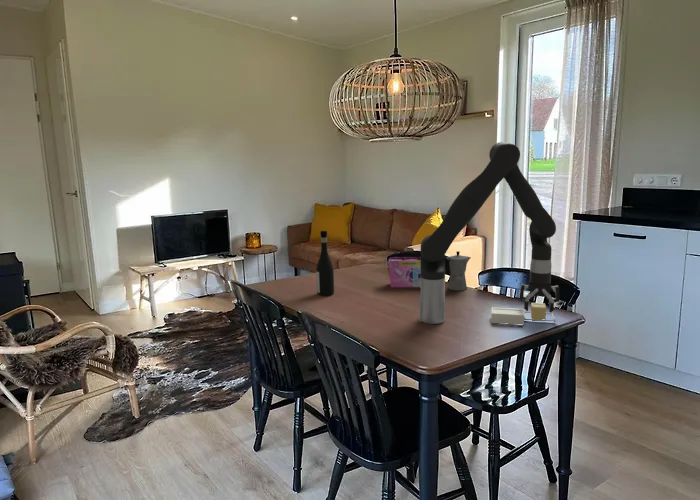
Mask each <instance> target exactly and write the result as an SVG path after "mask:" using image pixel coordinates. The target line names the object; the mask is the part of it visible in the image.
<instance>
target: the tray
mask: <svg viewBox="0 0 700 500" xmlns="http://www.w3.org/2000/svg"><path fill="white" fill-rule="evenodd" d="M525 313H531V310H528V311H526V310H523V314H524V320H532V321H554V322H555V323H556V319H555V317H554V313H553V312H552V313H550V312H547V311H546V314H551V315H552V318H553V320H542V319H526V318H525ZM524 320H523V321H524Z"/></svg>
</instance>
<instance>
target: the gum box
mask: <svg viewBox="0 0 700 500" xmlns="http://www.w3.org/2000/svg"><path fill="white" fill-rule="evenodd" d="M387 266H388V269H389V279H390V288H421V256H417V257H416V256H414V257H413V256H412V257H411V256H402V257H399V256H398V257H396V256H395V257H393V256H392V257H389V259H388V261H387Z"/></svg>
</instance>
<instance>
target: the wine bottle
mask: <svg viewBox="0 0 700 500" xmlns="http://www.w3.org/2000/svg"><path fill="white" fill-rule="evenodd" d="M319 233H320V244H321V245H320V249H321V250H320V256H319V259H318V262H317V265H316V271H315V273H316V276H315V277H316V294H317V295H318V296H320V297H321V296H322V297H331V296H332V295H334V294H335V271H334V265H333V263H332V261H331V258H330V255H329V253H328V236H327V235H328V231H327V230H321V231H320V232H319Z"/></svg>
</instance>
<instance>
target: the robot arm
mask: <svg viewBox="0 0 700 500" xmlns="http://www.w3.org/2000/svg"><path fill="white" fill-rule="evenodd" d="M520 159H521V151H520V148H519V147H518V146H517V145H516V144H515V143H511V142H507V141H500V142H497V143H495V144H494V145H492V146H491V148H490V149H489V160H490V161H489V162H488V164H487V165H486V167H484V169H483V171H482V172H481V173H480V174H479V175H478V176H476V177H475V178H474V179H473V180H471V181H470V182H468V184H467V185H466V186H465V187H463V189H462V190H461V192H459V194H458V195H457V197H455V199H454V201H453V202H452V204H451V205H450V207H449V208H448V209H447V210H448V211H447V212H446V214H445V216H444V218H443V220H442V221H441V223H440V224H439V226H438V227H437V228H436V229H435V230H434V231H433V232H432V233H431V234H429V235H426V236H425V237H424V238H423V239H422V241H421V242H420V257H421V287H420V297H419V323H425V324H429V325H434V324H435V325H438V324H442V323H444V322H445V316H446V314H445V312H446V311H445V310H446V306H445V305H446V304H445V303H446V302H445V301H446V297H445V296H446V274H445V268H446V261H445V257H446V253H447V251H448V250H449V248H450V246H451V245H452V243H453V242H454V240H455V239H456V237H457V236H458V235H459V234H460V233H461V231H462V230H463V229H464V228H465V227H466V226H467V225H468V224H469V223H470V221H471V220H472V219H473V218H474V217H475V216H476V214H477V213H478V212H479V211H480V209H481V208H482V206H483V205H484V204H485V203H486V202H487V200H488V199H489V197H490V196H491V194H493V191H494V190H495V189H496V188H497V186H498V185H499V184H500V182H502V180H504V181H506V183H507V185H508V186H509V188H510V190H511V192H512V194H513V196H514V197H515V200H516V202H517V203H518V206H519V207H520V209H521V211H522V213H523V214H524V216H525V217H526V218H528V219H529V220H530V221H531V222H530V224H529V228H528V231H529V240H530V244H531V256H530V257H531V259H530V266H529V283H528V284H524V283H521V284H520V291H519V300H521V301H523V302H524V303H523V304H524V305H523V308H524V309H523V310H524V311H529V301H530V299H532V298H533V297H536V298H537V297H541V298H545V297H546V298H547V299H548V300H549V309H548V311H549V313H553V312H554V310H555V309H554V307H555V303H559V302H561V301H560V300H561V299H560V298H561V297H560V286H559V285H558V284H557V285H552V283H551V282H552V249H553V248H552V245H551V244H550V243H549V242H548V238H549V239H550V238H552V237H553V236H554V235H556V231H557V226H556V223H555V220H554V219H553V217H552V216H551V215H550V213H549V212H548V211H547V210H546V209H545V208H544V206H543V204H542V202H541V201H540V198H539V196H538V195H537V193H536V192H535V189H533V186H532V185H531V184H530V183H529V181H528V180H527V179H526V176H524V175H523V173H522V171H521V169H520V168H519V165H518V162H519V161H520ZM527 289H529V292H528V293H527V294H526V296H525V295H524V294H525V291H526V290H527ZM551 291H553V292H554V294H555V297H554V298H553V297H552V295H551V294H550V292H551Z"/></svg>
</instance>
